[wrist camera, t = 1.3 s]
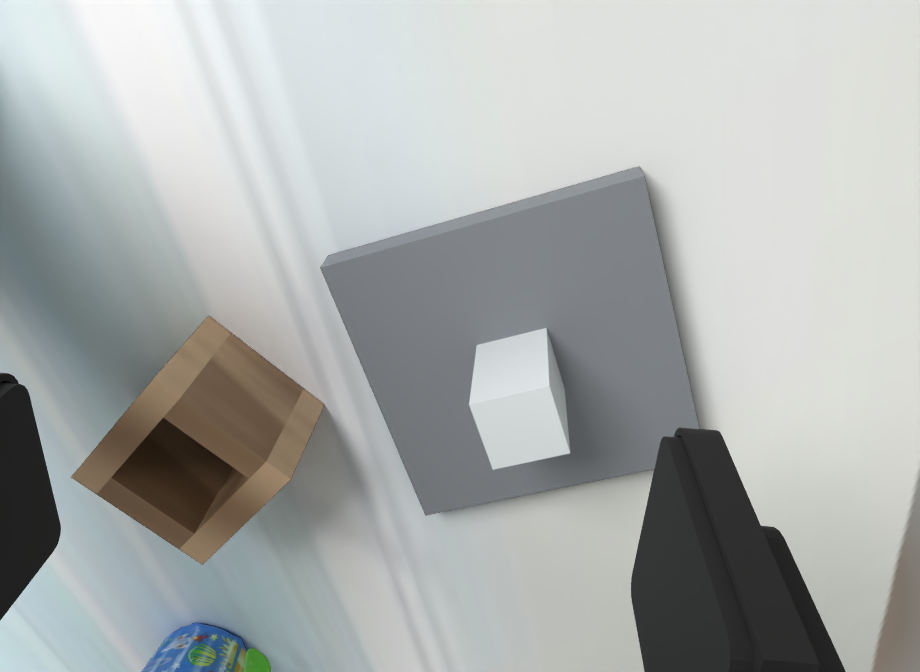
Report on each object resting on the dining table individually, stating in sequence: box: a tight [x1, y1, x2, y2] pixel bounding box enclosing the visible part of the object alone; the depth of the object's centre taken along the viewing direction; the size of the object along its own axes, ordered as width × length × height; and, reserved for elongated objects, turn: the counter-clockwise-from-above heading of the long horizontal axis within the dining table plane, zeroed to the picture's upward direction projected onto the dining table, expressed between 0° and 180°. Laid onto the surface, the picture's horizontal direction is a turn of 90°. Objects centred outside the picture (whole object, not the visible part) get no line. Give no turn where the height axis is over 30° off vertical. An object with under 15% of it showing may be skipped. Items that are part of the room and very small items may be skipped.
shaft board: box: [320, 167, 699, 516], centre depth 33 cm, size 14×14×6 cm
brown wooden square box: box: [71, 316, 324, 565], centre depth 35 cm, size 7×7×6 cm
